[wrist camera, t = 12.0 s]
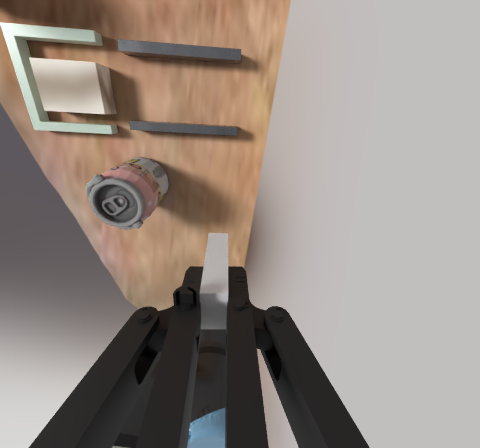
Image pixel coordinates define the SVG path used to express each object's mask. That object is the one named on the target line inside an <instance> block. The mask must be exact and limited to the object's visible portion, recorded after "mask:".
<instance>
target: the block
mask: <svg viewBox="0 0 480 448" xmlns="http://www.w3.org/2000/svg"><path fill="white" fill-rule="evenodd" d="M29 60H30V63H31V67H32V70H33V73H34V77H35V80H36V84H37V87H38V90H39V94H40V97H41V101H42V104H43V107H44V111H59V112H75V113H92V114H116V108H115V102H114V96H113V90H112V84H111V78H110V72H109V67H106V66H103V65H101V64H98V63H95V62H83V61H69V60H56V59H43V58H29Z"/></svg>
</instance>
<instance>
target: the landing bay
mask: <svg viewBox="0 0 480 448" xmlns="http://www.w3.org/2000/svg"><path fill="white" fill-rule="evenodd" d="M0 25H1V28H2V31H3V34H4V37H5V40H6V43H7V46H8V49H9V53H10V56H11V59H12V62H13V65H14V68H15V71H16V74H17V78H18V81H19V84H20V87H21V90H22V93H23V96H24V99H25V103H26V106H27V109H28V112H29V115H30V118H31V121H32V124H33V127H34V130H46V131H64V132H83V133H101V134H115V133H118V130H117V125H110V124H93V123H75V122H58V121H50V120H49V117H48V113H47V111H44V107H43V104H42V101H41V97H40V94H39V90H38V87H37V84H36V80H35V77H34V73H33V70H32V67H31V63H30V60H29V58H31V54H30V51H29V47H28V44H27V40H33V41H46V42H58V43H71V44H83V45H96V46H103V42H102V36H101V35H100V34H99V33H97V32H95V31H94V30H83V29H71V28H59V27H48V26H36V25H24V24H12V23H0Z"/></svg>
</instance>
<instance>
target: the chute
mask: <svg viewBox="0 0 480 448" xmlns="http://www.w3.org/2000/svg"><path fill="white" fill-rule="evenodd" d="M117 41H118V48H119V51H120V52H122V53H124V54H126V55H134V56H146V57H159V58H172V59H185V60H198V61H210V62H223V63H236V64H240V61H241V49H231V48H219V47H207V46H195V45H183V44H170V43H158V42H146V41H134V40H122V39H117ZM129 123H130V130H143V131H161V132H179V133H197V134H215V135H233V136H237V128H238V127H237V126H222V125H205V124H188V123H170V122H153V121H136V120H135V121H129Z"/></svg>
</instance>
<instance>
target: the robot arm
mask: <svg viewBox="0 0 480 448" xmlns="http://www.w3.org/2000/svg"><path fill="white" fill-rule="evenodd" d="M173 298H174V306H172V307H170V308H168V309H165V310H161V311H158V310H157V309H156V308H154V307H143V308H140V309H139V310H137V311H136V312H135V313H134V314H133V315H132V316H131V317H130V318H129V320H128V321H127V322H126V324H125V325H124V326H123V327H122V329H121V330H120V331H119V333H118V334H117V335H116V336H115V338H114V339H113V340H112V342H111V343H110V344H109V345H108V347H107V348H106V350H105V351H104V352H103V353H102V354H101V356H100V357H99V358H98V360H97V361H96V362H95V363H94V365H93V366H92V367H91V369H90V370H89V371H88V372H87V374H86V375H85V376H84V378H83V379H82V380H81V381H80V383H79V384H78V385H77V387H76V388H75V389H74V390H73V392H72V393H71V394H70V396H69V397H68V398H67V399H66V401H65V402H64V403H63V405H62V406H61V407H60V408H59V410H58V411H57V412H56V413H55V415H54V416H53V417H52V419H51V420H50V421H49V422H48V424H47V425H46V426H45V428H44V429H43V430H42V431H41V433H40V434H39V435H38V437H37V438H36V439H35V441H34V442H33V443H32V444H31V446H30V447H29V448H269V447H268V439H267V431H266V422H265V414H264V407H263V397H262V389H261V380H260V372H259V364H258V356H257V348H258V349H260V350H261V353H262V355H263V357H264V360H265V363H266V365H267V368H268V370H269V373H270V375H271V378H272V380H273V383H274V386H275V388H276V391H277V393H278V396H279V398H280V401H281V403H282V406H283V408H284V411H285V413H286V416H287V419H288V421H289V423H290V426H291V429H292V431H293V434H294V436H295V439H296V441H297V444H298V447H299V448H369V446H368V444H367V443H366V441H365V439H364V438H363V436H362V434H361V433H360V431H359V429H358V428H357V426H356V424H355V423H354V421H353V419H352V418H351V416H350V414H349V413H348V411H347V409H346V408H345V406H344V405H343V403H342V401H341V399H340V398H339V396H338V394H337V393H336V391H335V390H334V388H333V386H332V385H331V383H330V381H329V379H328V378H327V376H326V374H325V373H324V371H323V369H322V368H321V366H320V365H319V363H318V361H317V359H316V358H315V356H314V354H313V353H312V351H311V350H310V348H309V346H308V345H307V343H306V341H305V340H304V338H303V336H302V335H301V333H300V331H299V330H298V328H297V326H296V325H295V323H294V321H293V320H292V318H291V316H290V315H289V313H288V312H287V311H286V310H285V309H283V308H281V307H278V306H272V307H270V308H268V309H267V310H262V309H259V308H256V307H255V306H253V305H252V304H251V302H250V300H249V293H248V285H247V276H246V271H245V270H244V268H243V267H228V233H209V235H208V242H207V248H206V255H205V261H204V267H193V266H190V267H189V268H188V269H187V271H186V273H185V277H184V280H183V284H182V286H181V287H179V288H177V289H176V290H175V291H174V293H173Z"/></svg>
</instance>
